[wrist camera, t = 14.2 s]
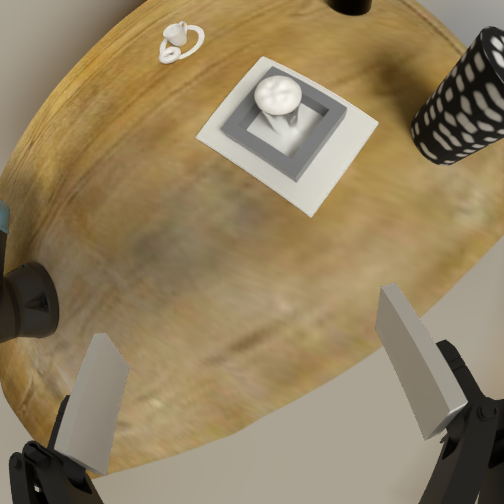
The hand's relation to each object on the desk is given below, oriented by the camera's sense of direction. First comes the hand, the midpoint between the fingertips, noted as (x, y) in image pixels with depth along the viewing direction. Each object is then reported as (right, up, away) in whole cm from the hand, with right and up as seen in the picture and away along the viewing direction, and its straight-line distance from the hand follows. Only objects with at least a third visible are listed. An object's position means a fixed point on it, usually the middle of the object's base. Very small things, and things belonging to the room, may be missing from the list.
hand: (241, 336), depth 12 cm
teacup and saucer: (-14, +38, +24) cm, 47 cm away
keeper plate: (+5, +19, +21) cm, 29 cm away
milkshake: (+4, +19, +20) cm, 28 cm away
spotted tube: (+25, +19, +17) cm, 36 cm away
